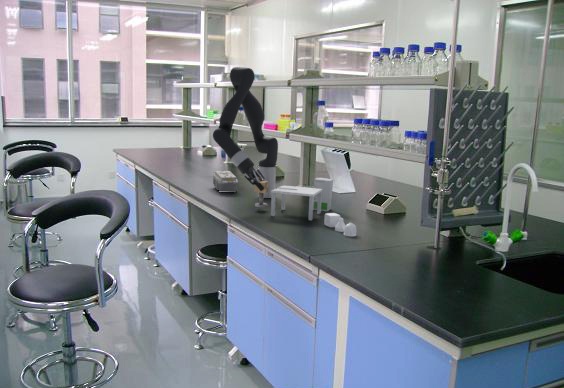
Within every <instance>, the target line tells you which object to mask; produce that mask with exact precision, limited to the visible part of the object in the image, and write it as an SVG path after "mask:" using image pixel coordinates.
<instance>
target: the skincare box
mask: <svg viewBox="0 0 564 388" xmlns="http://www.w3.org/2000/svg"><path fill="white" fill-rule="evenodd" d="M333 184H334V179H333V178H327V177H326V178H325V177H316V178H314V186H313V188H317V189H322V199H321V212H327V213H329V211H330V210H331V208H332V199H333V198H332V196H333ZM317 202H318V194H317V195H315V196H314V199H313V211H317Z"/></svg>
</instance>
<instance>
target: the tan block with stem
mask: <svg viewBox="0 0 564 388" xmlns="http://www.w3.org/2000/svg"><path fill="white" fill-rule="evenodd" d="M259 183H261V185H262V186H263V187H264V189H263V190H262V191H260V190H259V188H258V187H257V186H255V185H254V193H257V194H258V193H259V197H258V202H255V203H254V207H256V208H267V207H268V203H267V202H264V193H266V192H268V181H259Z"/></svg>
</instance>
